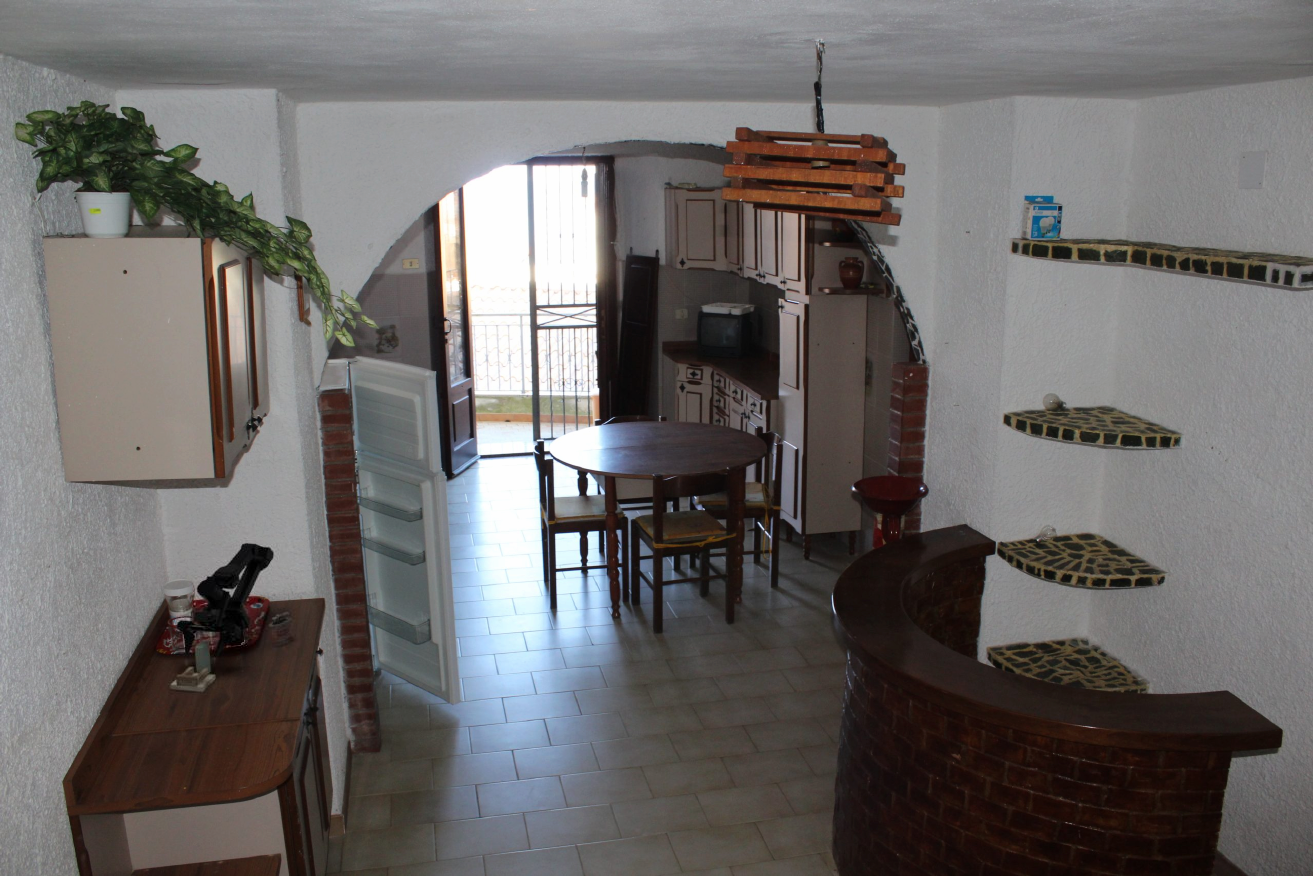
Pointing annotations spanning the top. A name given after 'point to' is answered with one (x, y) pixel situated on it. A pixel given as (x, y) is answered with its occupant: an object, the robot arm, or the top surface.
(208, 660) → the plank
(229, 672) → the top surface
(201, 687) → the groove base
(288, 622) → the lighter
